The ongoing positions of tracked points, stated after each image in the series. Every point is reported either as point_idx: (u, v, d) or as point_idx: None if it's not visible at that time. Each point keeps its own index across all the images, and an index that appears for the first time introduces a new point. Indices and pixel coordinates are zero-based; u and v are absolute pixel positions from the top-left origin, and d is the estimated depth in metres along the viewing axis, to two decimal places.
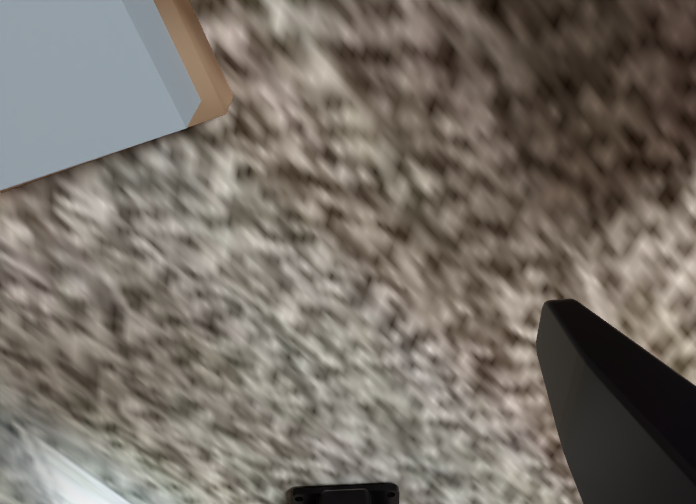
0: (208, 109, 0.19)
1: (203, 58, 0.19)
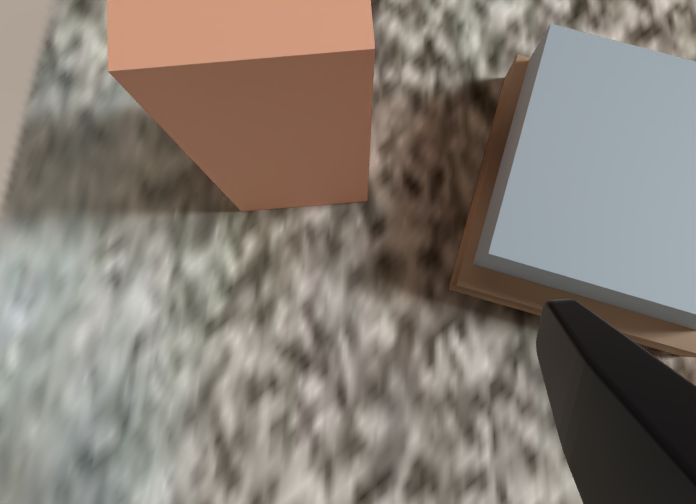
0: None
1: None
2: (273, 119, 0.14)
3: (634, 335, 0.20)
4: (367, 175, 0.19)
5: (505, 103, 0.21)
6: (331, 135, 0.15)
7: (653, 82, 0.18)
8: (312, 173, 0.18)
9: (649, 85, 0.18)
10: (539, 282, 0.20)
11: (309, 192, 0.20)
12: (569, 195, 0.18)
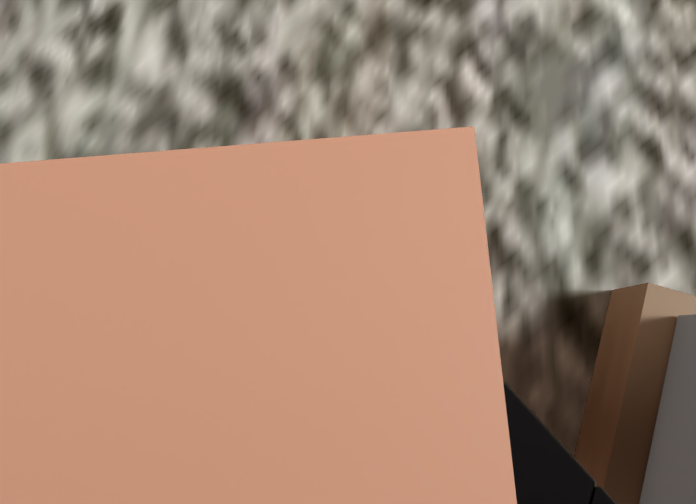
0: None
1: None
2: None
3: None
4: None
5: (630, 366, 0.13)
6: None
7: None
8: None
9: None
10: None
11: None
12: None
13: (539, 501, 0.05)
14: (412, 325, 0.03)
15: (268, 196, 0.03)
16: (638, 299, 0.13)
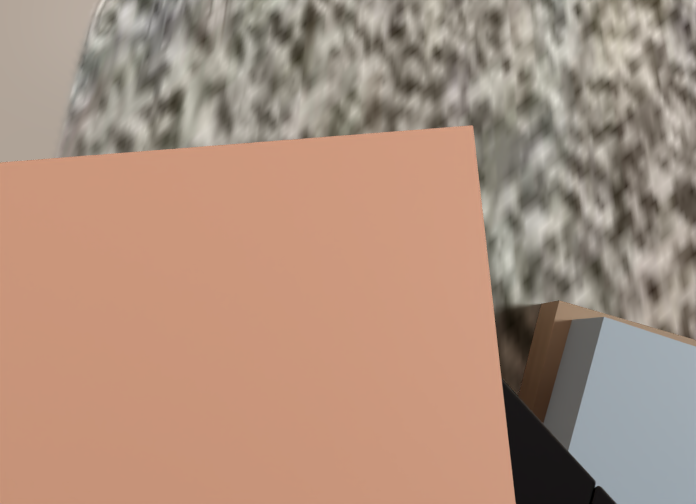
0: None
1: None
2: None
3: None
4: None
5: (545, 358, 0.19)
6: None
7: None
8: None
9: None
10: None
11: None
12: None
13: (539, 501, 0.05)
14: (410, 321, 0.03)
15: (268, 194, 0.03)
16: (553, 311, 0.19)
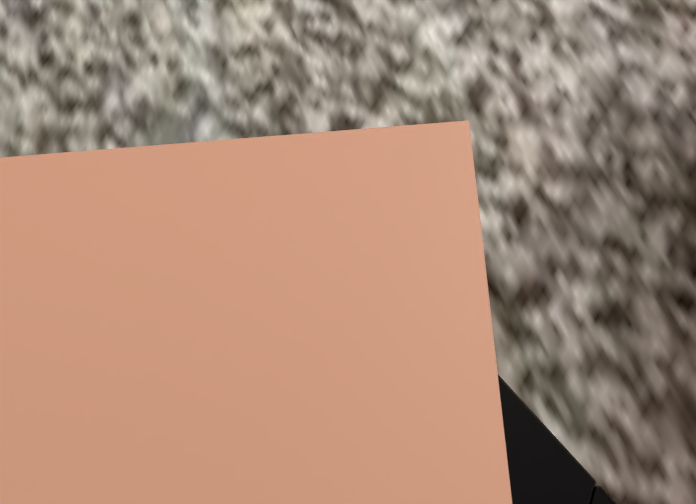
0: None
1: None
2: None
3: None
4: None
5: None
6: None
7: None
8: None
9: None
10: None
11: None
12: None
13: (539, 501, 0.05)
14: (407, 318, 0.03)
15: (263, 189, 0.03)
16: None
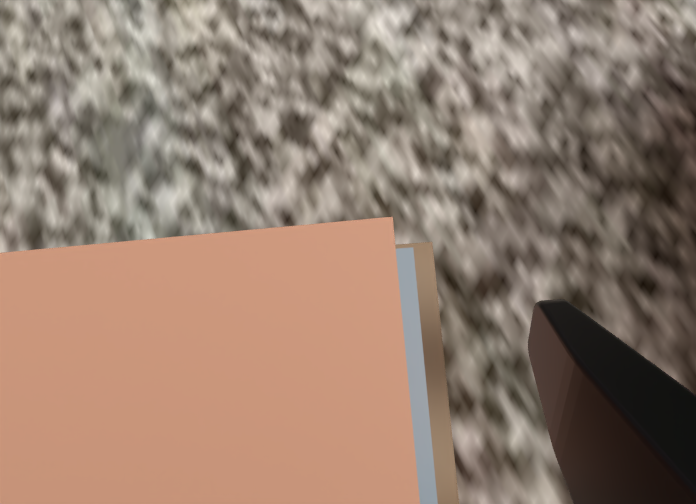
0: None
1: (452, 452, 0.19)
2: None
3: None
4: None
5: None
6: None
7: None
8: None
9: None
10: None
11: None
12: None
13: None
14: (350, 351, 0.05)
15: (255, 265, 0.05)
16: None
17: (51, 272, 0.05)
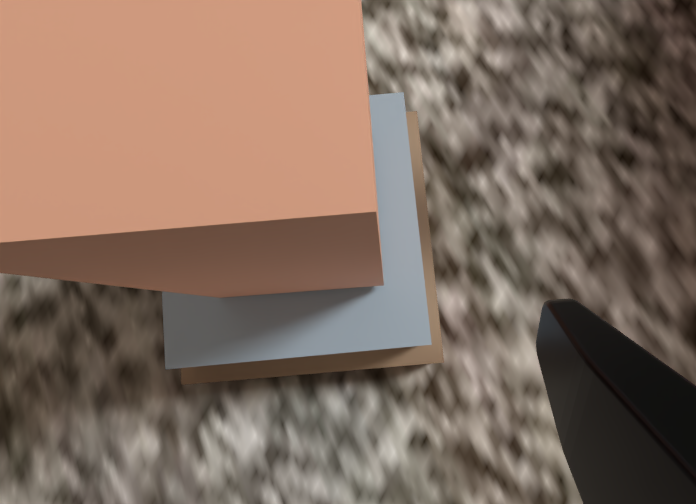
0: (428, 353, 0.19)
1: (436, 307, 0.20)
2: (217, 263, 0.08)
3: (365, 368, 0.19)
4: (381, 277, 0.13)
5: None
6: (319, 265, 0.09)
7: None
8: (303, 280, 0.13)
9: None
10: None
11: (303, 287, 0.15)
12: None
13: None
14: None
15: None
16: None
17: None
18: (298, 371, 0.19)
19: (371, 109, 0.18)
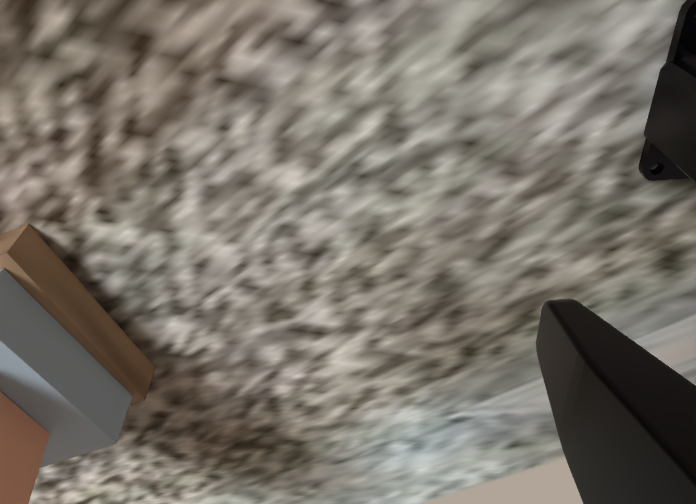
0: (7, 265, 0.21)
1: None
2: None
3: (54, 303, 0.22)
4: None
5: None
6: None
7: None
8: None
9: None
10: (98, 368, 0.24)
11: None
12: None
13: None
14: None
15: None
16: None
17: None
18: (88, 342, 0.24)
19: None
